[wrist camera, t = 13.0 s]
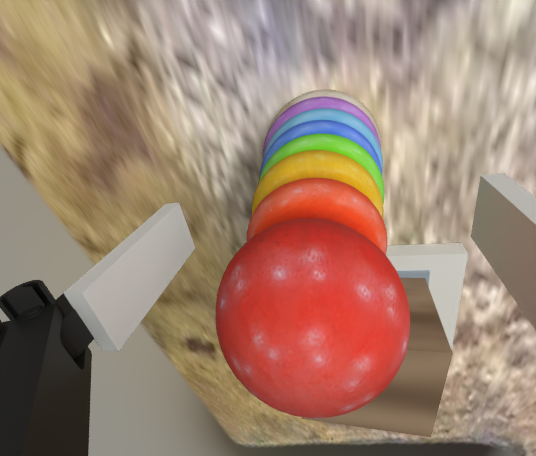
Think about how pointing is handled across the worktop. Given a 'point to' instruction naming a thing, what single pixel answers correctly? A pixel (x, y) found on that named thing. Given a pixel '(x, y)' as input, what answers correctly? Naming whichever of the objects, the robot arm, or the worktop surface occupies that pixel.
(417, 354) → the walnut block
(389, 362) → the stacking toy
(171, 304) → the worktop surface
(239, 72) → the worktop surface
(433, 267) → the baseplate
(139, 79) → the worktop surface
